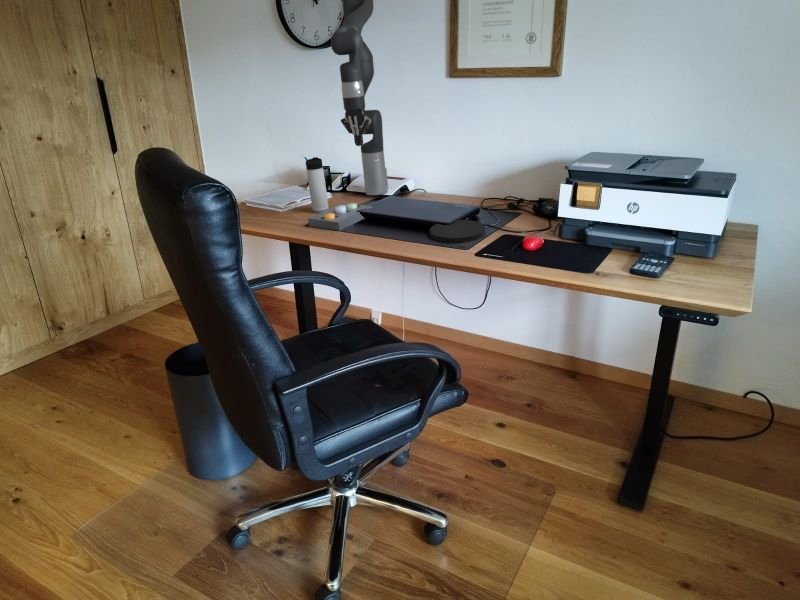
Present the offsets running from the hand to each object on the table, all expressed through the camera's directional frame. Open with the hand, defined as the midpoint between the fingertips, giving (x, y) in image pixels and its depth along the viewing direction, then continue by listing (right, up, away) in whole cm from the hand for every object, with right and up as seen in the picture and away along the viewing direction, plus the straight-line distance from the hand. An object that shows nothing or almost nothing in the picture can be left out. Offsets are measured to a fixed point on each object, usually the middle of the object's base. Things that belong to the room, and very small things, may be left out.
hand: (359, 145), depth 202 cm
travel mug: (-16, -21, +15) cm, 31 cm away
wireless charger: (+33, -35, -22) cm, 53 cm away
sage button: (-3, -24, +6) cm, 25 cm away
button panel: (-6, -27, +2) cm, 28 cm away
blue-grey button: (-7, -25, +1) cm, 26 cm away
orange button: (-10, -29, -3) cm, 31 cm away
